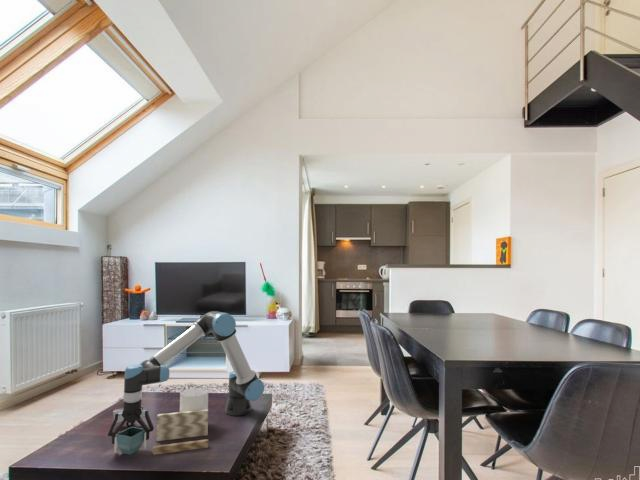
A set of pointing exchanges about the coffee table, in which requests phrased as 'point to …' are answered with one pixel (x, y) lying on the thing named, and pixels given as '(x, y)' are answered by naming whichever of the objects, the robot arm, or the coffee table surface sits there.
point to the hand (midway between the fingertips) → (130, 448)
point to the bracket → (123, 418)
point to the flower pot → (130, 440)
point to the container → (193, 399)
